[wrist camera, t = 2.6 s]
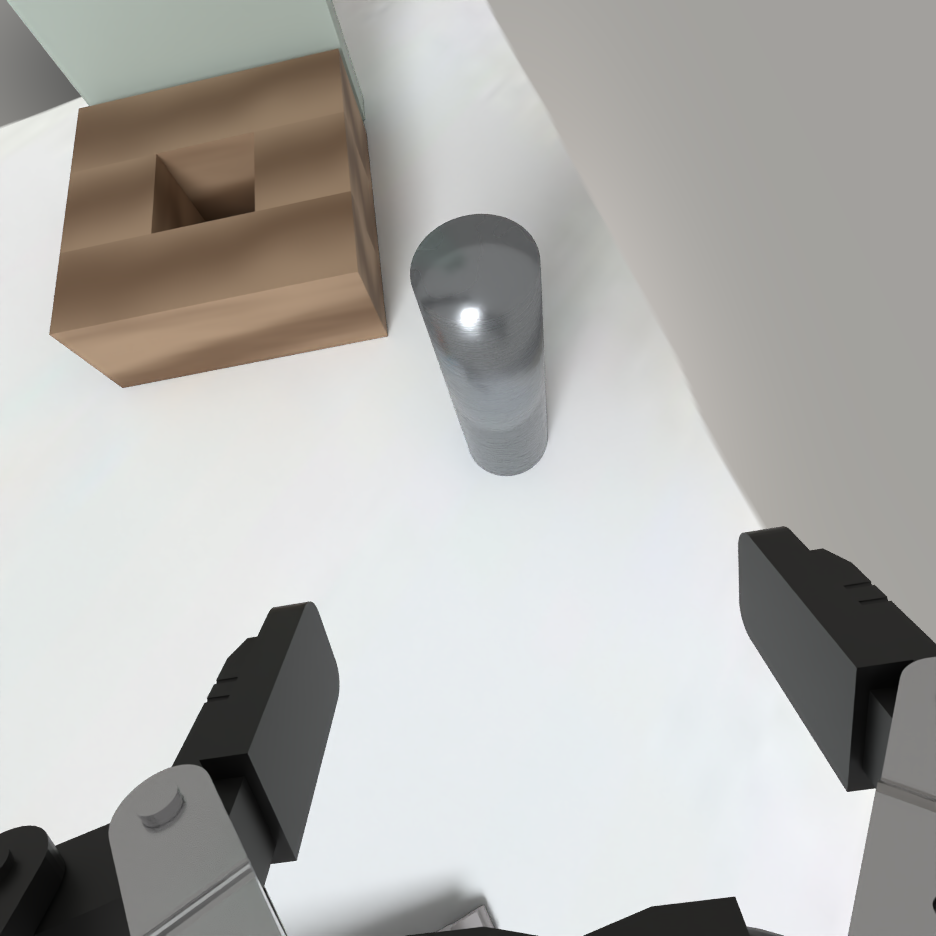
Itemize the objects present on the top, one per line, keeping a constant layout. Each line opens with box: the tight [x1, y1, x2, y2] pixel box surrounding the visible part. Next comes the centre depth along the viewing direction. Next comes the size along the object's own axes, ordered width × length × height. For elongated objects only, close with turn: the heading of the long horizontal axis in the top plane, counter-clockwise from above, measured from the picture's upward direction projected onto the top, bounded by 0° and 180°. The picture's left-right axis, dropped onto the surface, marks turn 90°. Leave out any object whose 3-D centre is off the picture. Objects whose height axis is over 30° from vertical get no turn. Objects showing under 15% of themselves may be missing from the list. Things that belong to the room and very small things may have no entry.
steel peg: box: [410, 214, 547, 476], centre depth 23 cm, size 4×4×12 cm
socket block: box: [49, 49, 388, 388], centre depth 32 cm, size 14×14×5 cm
